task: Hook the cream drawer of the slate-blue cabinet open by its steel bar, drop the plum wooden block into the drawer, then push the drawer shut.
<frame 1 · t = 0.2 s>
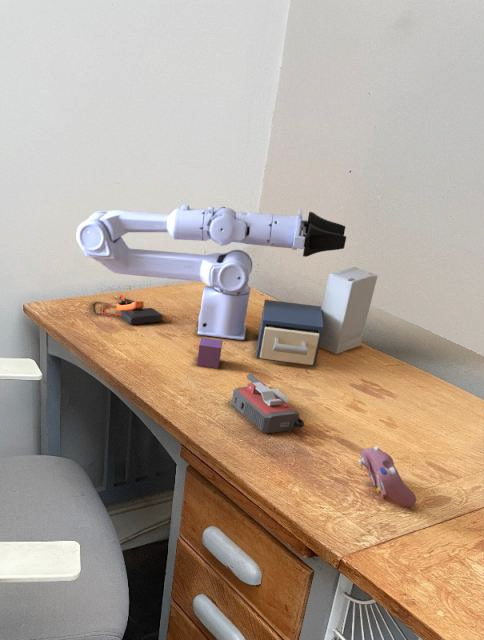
hand: (344, 237, 145), 21 cm above the table, tool horizontal, fingers open, 7 cm apart
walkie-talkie: (258, 409, 130), on the table
cabinet: (285, 350, 153), on the table
video game controller: (381, 492, 110), on the table
block: (208, 363, 145), on the table
drawer: (289, 341, 147), point 4 cm above the table, slide at 1.0 cm
cosmetic box: (336, 347, 157), on the table
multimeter: (120, 311, 167), on the table
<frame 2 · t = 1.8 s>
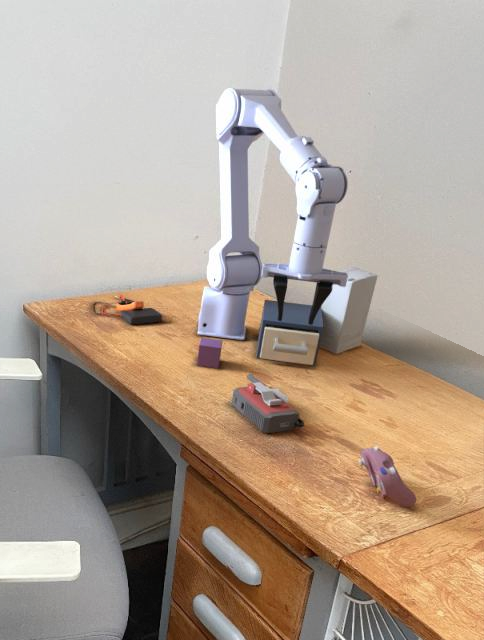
hand: (294, 320, 140), 9 cm above the table, tool pointing down, fingers open, 5 cm apart
nothing on the table moved.
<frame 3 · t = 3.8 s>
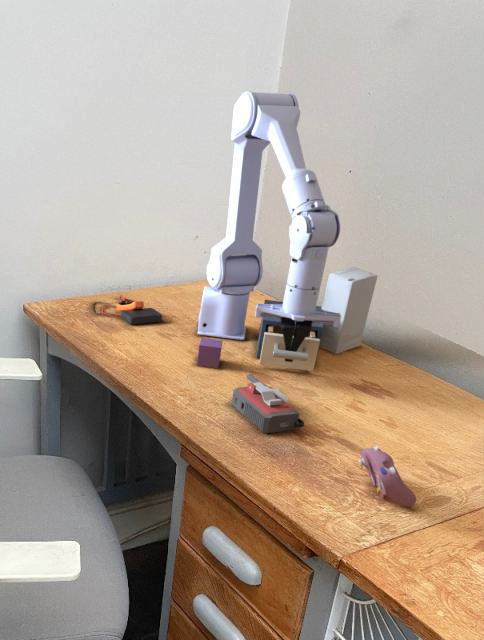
hand: (288, 359, 141), 3 cm above the table, tool pointing down, fingers closed, pressing on drawer
drawer: (289, 346, 145), point 4 cm above the table, slide at 4.0 cm, touching gripper
everything else where it was.
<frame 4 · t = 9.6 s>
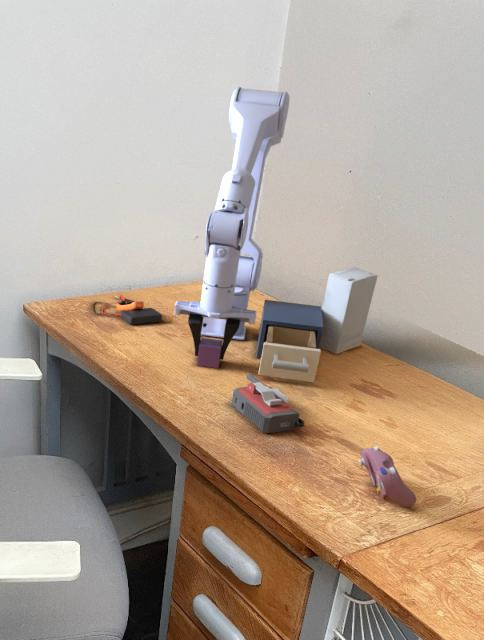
hand: (209, 355, 145), 1 cm above the table, tool pointing down, fingers closed on block, 4 cm apart
block: (208, 363, 145), on the table, touching gripper
drawer: (289, 356, 140), point 4 cm above the table, slide at 9.3 cm
everything else where it was.
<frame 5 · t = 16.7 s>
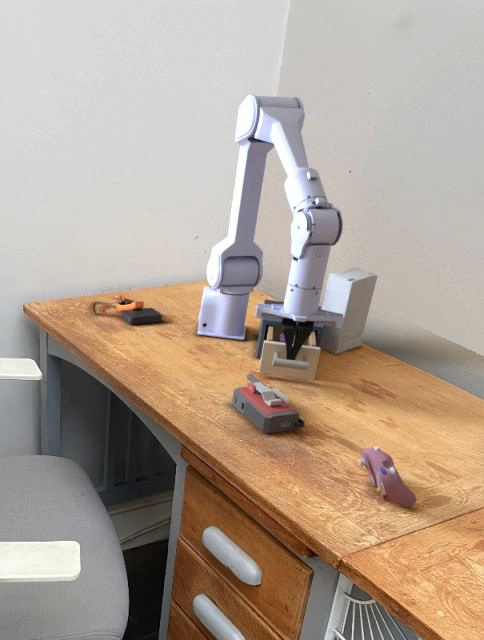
hand: (289, 361, 137), 4 cm above the table, tool pointing down, fingers closed, pressing on drawer
block: (287, 358, 144), point 2 cm above the table, touching drawer
drawer: (289, 354, 141), point 4 cm above the table, slide at 8.3 cm, touching block, gripper
everything else where it was.
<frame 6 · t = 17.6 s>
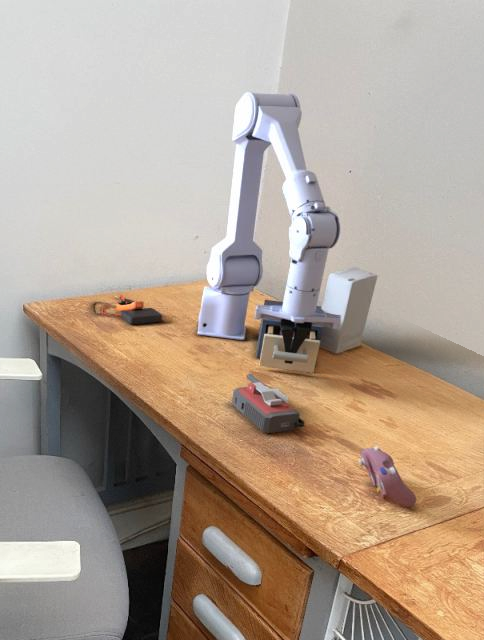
hand: (288, 361, 140), 3 cm above the table, tool pointing down, fingers closed, pressing on drawer
block: (287, 352, 147), point 2 cm above the table, touching drawer
drawer: (289, 348, 144), point 4 cm above the table, slide at 4.8 cm, touching block, gripper
everything else where it was.
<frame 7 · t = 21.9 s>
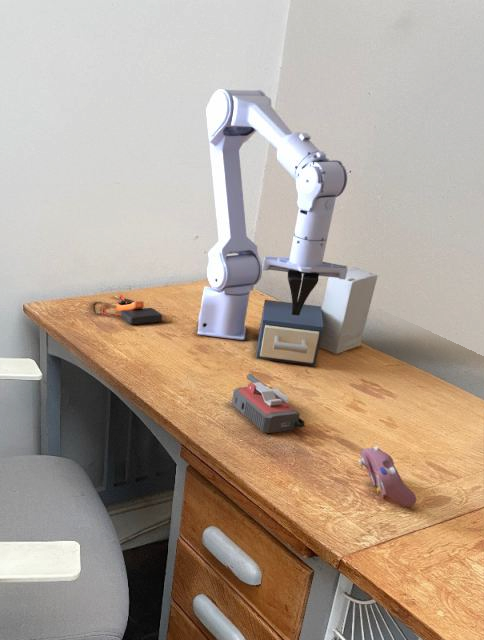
hand: (295, 313, 142), 10 cm above the table, tool pointing down, fingers closed
block: (287, 343, 151), point 2 cm above the table, touching drawer
drawer: (289, 339, 148), point 4 cm above the table, slide at 0.0 cm, touching block, cabinet
everything else where it was.
at the end: drawer pulled out 9.3 cm at the most during the clip, back to where it started at the end; block inside the target area in the cabinet (1.4 cm from its centre), point 2.0 cm above the cabinet's base; drawer slide at 0.0 cm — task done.
